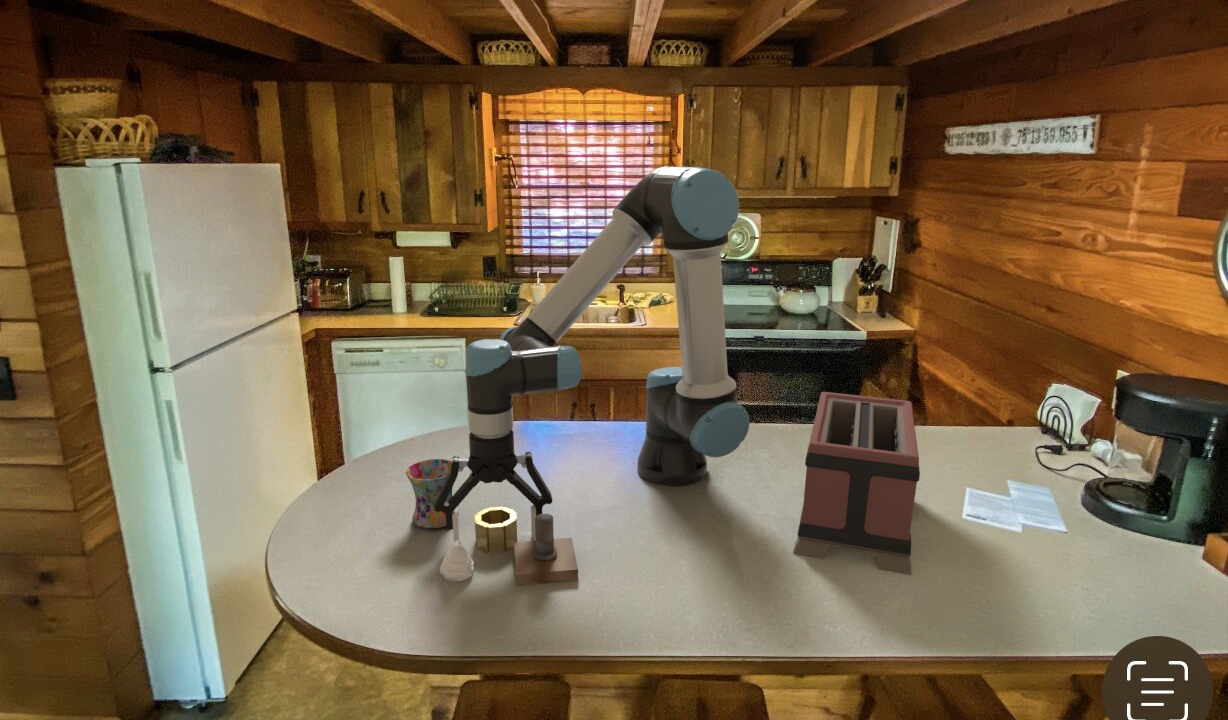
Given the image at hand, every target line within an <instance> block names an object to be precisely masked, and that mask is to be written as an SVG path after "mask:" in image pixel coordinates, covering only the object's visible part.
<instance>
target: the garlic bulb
mask: <svg viewBox="0 0 1228 720" xmlns="http://www.w3.org/2000/svg"><path fill="white" fill-rule="evenodd" d="M474 565H475V563H474V560H473V559H472V557H471V554H470V553H469V552H468V550H467V548H466V547H464V546H463V545H462V541H461V539H459V540H457V541H455V542H454V541H453V544H452V546H451V548H450V549H449V550H448V551H447V552H446V555H444V557H443V559H442V562H441V564H440V568H439V571H440V574H441V575H442V576H443V578H444V579H445V580H446V581H448V582H454V583H459V582H464V581H467V580H469V579H470V578H471V577H472V575H473V574H474V570H475V569H474Z"/></svg>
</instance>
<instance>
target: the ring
mask: <svg viewBox="0 0 1228 720" xmlns="http://www.w3.org/2000/svg"><path fill="white" fill-rule="evenodd" d="M517 523H518V521H517V512H516V511H515V510H514V509H511V508H508V507H506V506H504V507H503V506H495V507H493V506H492V507H488V508H485V509H482V510H480V511H479V512H477V513H475V515H474V529H475V547H476V548H477V550H479V551H481V552H484V553H487V554H488V553H489V554H497V553H498V554H499V553H505V552H508V551H510V550H511V549H514V542H518V525H517Z"/></svg>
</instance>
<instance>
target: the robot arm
mask: <svg viewBox="0 0 1228 720" xmlns="http://www.w3.org/2000/svg"><path fill="white" fill-rule="evenodd" d="M739 211H740V201H739V196H738V192H737V190H736V187H735V186H734V184H733V183H732V181H731V180H730V178H728V177H727V176H726V175H724V174H723V173H722V172H720V171H718V170H716V169H715V170H714V169H711V168H708V167H704V166H675V165H669V166H668V165H665V166H662V167H659V168H656V169H655V170H654V169H653V170H652V171H651V172H649V173H647V174H646V175H645V176H644V177H643V178H642V179H640V181H638V183H636V184H635V185H634V186H633V188H631V190H629V192H628V193H627V194H626V195H625V196H624V197H623V198H622V200H620V201H619V203H618V204H617V205H616V206H615V208H614V209H612V219H611V220H610V221H609V222H608V224H607V225H606V226H605V227H604V228H603V229H602V230H601V232H600V233H599V234H598V235H597V236H596V237H595V238H594V240H593V241H592V242H591V243H590V244H589V245H588V247H587V248H586V249H585V250H584V251H583V252H582V253H581V255H580V256H579V257H578V258H577V259H576V260H575V262H574V263H572V265H571V266H570V267H569V268H568V269H567V271H566V272H565V273H564V274H563V275H562V276H561V277H560V279H559V280H557V282H556V283H555V285H554V286H553V287H552V288H551V289H550V290H549V291H548V292H547V294H545V296H544V297H543V298H542V299H541V300H540V301H539V303H538V304H536V306H535V308H533V310H532V311H531V312H530V313H528V315H527V317H526V318H524V320H523V321H522V322H521V323H520V324H519V325H516V326H512V327H509V328H507V329H506V330H505V331H503V333H502V334H501V335H500V337H499V339H489V338H488V339H487V338H486V339H480V340H479V339H478V340H476V341H473V342H471V343H470V344H468V345H467V347H466V349H465V368H464V372H465V382H466V383H465V384H466V396H467V397H466V398H467V424H468V425H467V426H468V431H469V433H468V440H469V441H468V444H469V445H468V446H469V457H468V458H460V457H459V456H458V455H454V456H453V457H452V459H451V461H452V467H451V470H450V472H449V474H448V477H447V479H446V481H445V483H444V485H443V487H442V489H441V491H440V493H439V495H438V497H437V499H436V501H435V508H434V510H435V511H436V512H439V511H442V512H444V513H445V514H446V526H445V528H446V529H447V531H449V530H452V531H453V532H452V535H453V536H452V537H453V543H454V542H455V541H457V540H460V533H459V532H460V531H459V511H458V506H459V505H460V504H461V502H463V501H464V499H466V497H467V496H468V495H469V494H470V492H471V491H472V490H473V489H474V488H475V487H476V486H477V485H478V484H479V483H480V482H482V483H484V484H491V483H493V482H494V483H503V481H507V482H508V483H509V484H510V485H512V486H514V487H515V488H516V489H517V491H519V492H520V493H521V495H523V496H524V497H525V498H526V499H527V500H528V501H529V502H530V524H531V527H530V528H531V541H536V536H535V517H536V516H537V515H539V514H543V507H544V506H545V505H551V504H552V503H553V496H552V492H551V491H550V489H549V487H548V486H547V484H546V482H545V480H544V479H543V477H542V475H541V473H540V472H539V471H538V469H537V467H536V466H535V464H534V462H533V461H534V460H533V455H532V452H531V451H527V452H525V454H520V455H516V453H515V438H514V436H515V435H514V431H513V429H514V412H513V411H514V409H513V407H514V404H513V397H514V396H520V395H522V396H523V395H528V394H537V393H545V392H554V391H558V392H560V391H562V390H567V389H570V388H574V387H577V386H578V385H579V383H580V382H581V378H582V377H581V376H582V362H581V358H580V354H579V353H578V351H577V348H575V347H574V346H572V345H560V344H558V342H560V340H561V339H562V338H563V337H564V335H565V334H566V333H567V332H568V331H569V330H570V328H571V327H572V326H573V325H574V324H575V323H576V321H578V319H579V318H580V317H581V316H582V315H583V314H584V312H585V311H586V310H587V309H588V308H589V306H590V305H592V304H593V302H594V301H595V300H596V299H597V297H598V296H599V295H600V294H601V293H602V292H603V291H604V289H606V288H607V286H608V285H609V284H610V283H611V282H612V281H613V279H614V278H615V277H616V276H617V275H618V274H619V272H620V271H621V270H622V269H623V268H624V266H626V264H627V263H628V262H629V261H630V260H631V258H632V257H634V255H635V254H636V253H637V252H638V251H639V250H640V249H641V247H642V246H649V245H651V244H652V243H653V242H654V241H655V240H656V238H657V237H659V236H660V235H661V234H662V241H663V242H662V243H663V249H664V250H665V251H666V252H668V254H670V255H671V256H672V260H673V274H674V288H675V297H676V299H675V301H676V310H677V311H676V312H677V325H678V335H679V336H678V337H679V346H680V347H679V350H680V361H681V366H668V367H661V368H657V369H654V370H652V371H650V372H649V374H648V375H647V379H646V386H645V390H646V394H645V395H646V398H645V399H646V402H645V403H646V407H645V408H646V411H645V413H646V414H645V416H646V417H645V428H646V429H645V438H644V441H643V443H642V446H641V450H640V451H639V455H638V457H637V465H636V466H637V469H636V470H637V473H638V475H640V477H642V478H643V479H645V480H646V481H648V482H652V483H655V484H659V485H664V486H684V485H690V484H694V483H697V482H699V481H701V480H703V479H704V478H705V477H706V475H707V473H708V459H707V457H710V458H722V457H725V456H727V455H729V454H731V453H733V452H734V451H735V450H737V449H738V448H740V445H741V443H742V442H743V441H744V440H745V438H746V437H747V435H748V433H749V430H750V429H749V428H750V416H749V413H748V412H747V410H746V409H745V407H744V405H741V403H738V390H737V388H738V387H737V381H736V380H735V379H734V378H732V377H731V376H730V375H729V374H728V356H727V338H726V337H727V336H726V325H725V305H724V303H725V302H724V291H723V289H724V288H723V274H722V273H723V272H722V254H721V253H722V251H723V250H724V249H725V248H726V246H727V245H728V244H729V232H730V231H731V230H732V229H733V227H734V226H733V225H734V224H735V223H736V222H737V220H738V216H739V213H740V212H739ZM557 344H558V345H557ZM706 456H707V457H706ZM518 464H519V465H521V468H523V469H526V471H527V473H528V475H529V477H530V478H531V480H532V482H533V483H534V485H535V487H536V489H537V490H538V492H539V493H540V495H539V494H538V492H537V491H536V490H534V489H533V487H531V486H530V485H529V484H528V483H527V482H526V481H525V480H524V479H523V478H522V477H521V476H520V475H519V474H518V473H517V471H516V470H515V468H516V467H517V465H518ZM465 468H468V469H469V470H470V474H469V476H468V477H467V478H466V480H465V481H464V482H463V483H462V484H461V485H460V486H459V488H458V489H457V490H456V491H455V492H454V494H452V497H451V499H450V500H449V501H448V502H445V501H446V499H447V497H448V495H449V493H450V491H451V489H452V490H453V486H454V485H455V482H456V480H457V478H458V476H459V473H461V472H463V471H464V469H465Z"/></svg>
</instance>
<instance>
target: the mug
mask: <svg viewBox="0 0 1228 720" xmlns="http://www.w3.org/2000/svg"><path fill="white" fill-rule="evenodd" d="M451 467H452V460H450V459H445V458H431V459H424V460H420V461H418V462H415V463H412V464H411V465H410V466H409V467H407V469H406V472H405V474H406V477H407V478H408V481H409V482H410V484H411V486H412V489H413V492H414V496H415V497H414V498H415V507H414V512H413V514H412V518H411V521H412V523H413V524H415V525H416V526H417V527H420V528H424V529H439V528H443V527H446V514H445V513H444V512H442V511H439V512H436V511H435V510H434V508H435V501H436V499H437V497H438V495H439V493H440V491H441V489H442V487H443V485H444V483H445V481H446V479H447V477H448V474H449V472H450V470H451ZM452 496H453V488H452V489H451V491H450V493H449V495H448V497H447V499H446V501H445V502H448V501H449V500H450V499H451V497H452Z"/></svg>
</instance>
